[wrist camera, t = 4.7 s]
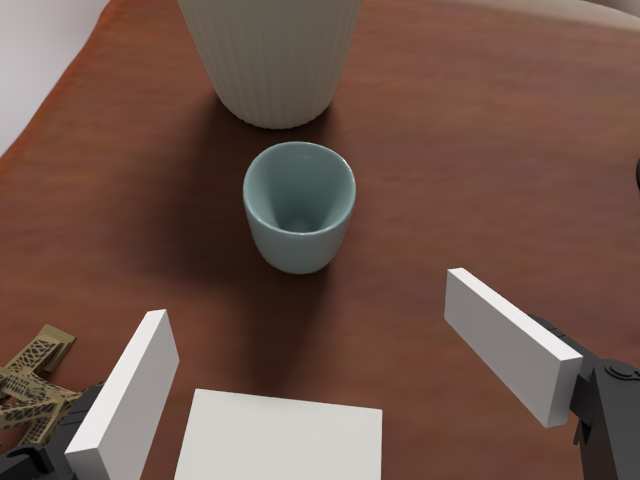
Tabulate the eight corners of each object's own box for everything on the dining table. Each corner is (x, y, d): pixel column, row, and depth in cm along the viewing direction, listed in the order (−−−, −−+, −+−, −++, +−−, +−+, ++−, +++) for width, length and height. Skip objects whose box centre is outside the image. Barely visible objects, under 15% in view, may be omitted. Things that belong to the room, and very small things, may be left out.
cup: (343, 215, 33) (361, 148, 24) (335, 291, 30) (352, 246, 21) (265, 204, 33) (254, 132, 24) (248, 278, 30) (228, 227, 21)
